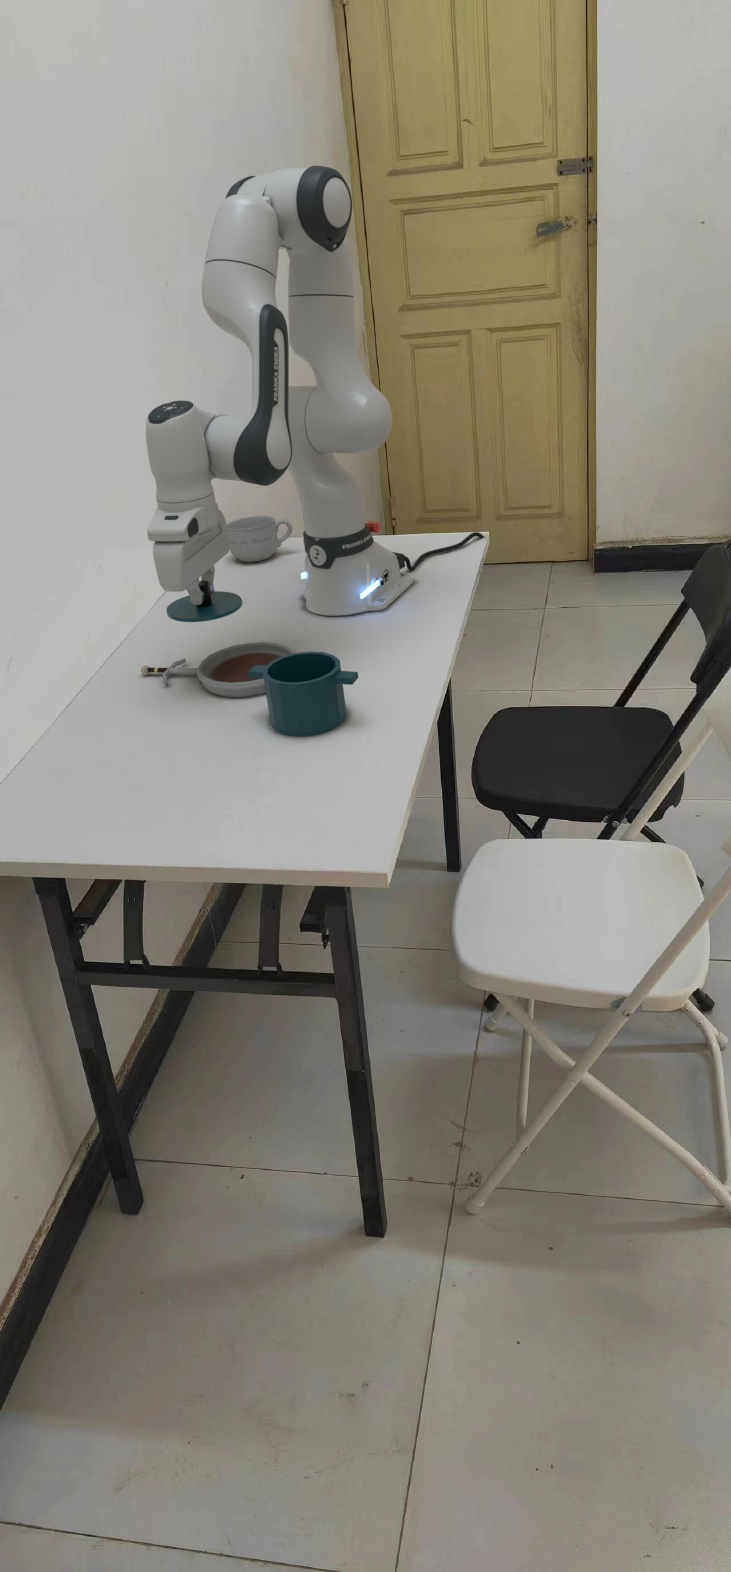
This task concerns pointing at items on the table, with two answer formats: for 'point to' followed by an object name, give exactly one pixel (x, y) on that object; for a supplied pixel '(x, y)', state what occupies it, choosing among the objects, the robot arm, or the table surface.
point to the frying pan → (230, 668)
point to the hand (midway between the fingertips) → (203, 598)
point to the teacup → (255, 537)
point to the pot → (305, 692)
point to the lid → (204, 606)
